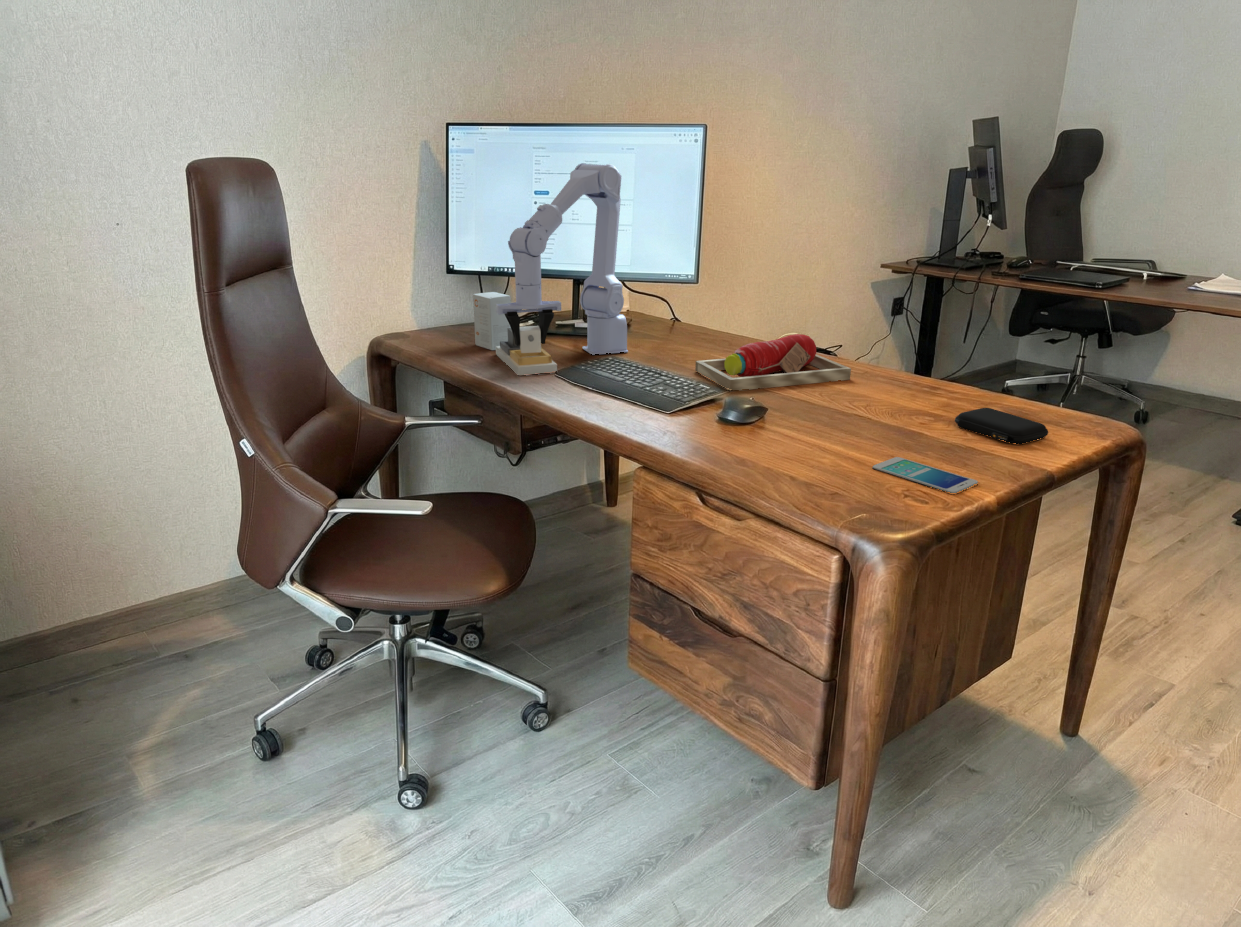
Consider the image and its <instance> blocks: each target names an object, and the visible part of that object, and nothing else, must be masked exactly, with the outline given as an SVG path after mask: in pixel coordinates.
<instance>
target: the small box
mask: <svg viewBox="0 0 1241 927" xmlns="http://www.w3.org/2000/svg"><path fill="white" fill-rule="evenodd" d="M511 300H512V298H511V295H508V294H504V293H500V292H496V291H488V292H481V293H480V292H479V293H473V294H472V302H473V319H474V320H473V321H474V322H473V323H474V340H475V342H474V343H475V346H477V347H481V348H483V349H487V350H489V351H496V346H500V341H508V329H507V328H511V327H510V325H509V322H508V320H507V319H506V317H505V314H500V315H499V314H497V312H496V304H507V303H512V301H511Z"/></svg>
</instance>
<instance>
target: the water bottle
mask: <svg viewBox="0 0 1241 927" xmlns="http://www.w3.org/2000/svg"><path fill="white" fill-rule="evenodd" d="M816 354H817V345H816V342H815V340H814V339H812V338H811V337H810V336H809V335H806V334H800V333H796V334H789V335H786V336H783V337H779V338H776V339H772V340H766V341H756V342H751V343H747V344H743V345H742V346H740V347H739V348H737V349H736V350H735V351H733V353H732V354H729V355H728V356H726V358H724V359H725V362H724V365H725V369H726V374H727V375H728V376H730V375H731V376H737V377H749V376H760V375H770V374H773V373H777V372H780V371H781V372H784V373H792V372H800V370H801V369H802V368H803V367H805V366H808V365H810V364H809V363H810V362H811V361H812V360H813V359H814V357H815V355H816Z"/></svg>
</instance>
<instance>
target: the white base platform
mask: <svg viewBox="0 0 1241 927" xmlns="http://www.w3.org/2000/svg"><path fill="white" fill-rule="evenodd" d="M495 355H496V356H497V357H498V358H499V359H500V360H501V361H502V362H503V363H504V362H505V363H506V364H505V363H504V364H505V365H506V366H507V365H508V366H509V367H510V368H511V369H512V370H513V371H514V372H515V373H516V374H518V375H524V374H535V373H544V372H552V371H557V372H558V364H557V363H556V362H555V361H554V360H553V356H552V355H551V354H549V352H547V351H546V350H545V349H543V348H542V347H541V352H537V353H521V350H520V348H510V347H509V346H508V341H500V346H496V350H495ZM508 366H507V367H508ZM509 367H508V368H509ZM510 368H509V369H510ZM511 369H510V370H511ZM512 370H511V371H512ZM513 371H512V372H513ZM515 373H514V374H515ZM516 374H515V375H516Z"/></svg>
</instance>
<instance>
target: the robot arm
mask: <svg viewBox="0 0 1241 927" xmlns="http://www.w3.org/2000/svg"><path fill="white" fill-rule="evenodd" d="M621 186H622V174H621V173H620V172H619V170H618V168H617V167H616V166H615V165H614V164H611V163H607V164H596V163H595V164H594V163H584V162H583V163H582V162H581V163H578V165H576V167H575V168H574V169H573V170H572V171H570V176H569V180H568V181H567V182H566V184H564V186H563V187H562V189H561V190H560V191H559V192H558V194H557V195H556V197H555V198H554V199H553V200H552V202H551V203H550V204H549V203H544V204H542V205H541V204H540V205H539V206H537V208H536V212H534V213H533V215H532V216H531V217H530V218H529V219H528V220H526V221H525V222H524V225H523V226H522V227H516V228H515V229H513V231H511V233H510V236H509V240H508V241H507V243H508V244H507V245H508V249H509V250H510V251H511V253H512V260H513V261H514V278H515V279H514V280H515V282H514V283H515V302H511V303H507V304H496V312H497V314H499V315H500V314H505V317H506V319H507V320H508V322H509V325H510V327H511V330H512V332H513V336H514V340H515V344H516V345H517V346H520V327H521V325H520V324H521V317H520V316H519V313H533V312H534V313H535V312H536V313H537V315H538V323H539V325H538V326H539V328H540V331H541V345H545V344H546V339H547V335H548V331H549V329H550V325H551V323H552V321H553V319H554V316H555V313H554V312H553V311H557V312H561V311H562V302H561V301H559V300H550V301H549V300H542V263H541V261H542V260H541V258H542V257H541V256H542V254H543V253H544V252H545V251H546V249H547V243H548V241H549V238H550V237H551V236H552V234H554V232H555V231H556V230H557V229H558V228H559V227H560V225H561V224H563V215H564V214H565V213H566V212H567V211H568V210H569V209H570V208H571V207H572V206H573V205H574V204H575V203H576V202H577V201H579V199H580V198H582V196H584V195H585V196H586V197H587V198H588V199H590V200H591V201H592V203H594V205H595V206H596V215H595V216H596V217H595V229H594V230H595V231H594V242H593V244H594V245H593V256H592V266H591V267H592V268H591V269H592V270H591V274H590V275H589V276H588V277H587V278H586V279H585V280H584V281H583V288H582V290H581V293H580V297H579V303H580V306H581V308H582V309H583V310H584V315H586V318H587V319H586V322H587V323H586V324H587V325H586V327H587V332H586V333H587V334H586V335H587V336H586V337H587V342H586V343H587V345H583V346H582V349H583V350H584V351H586V352H587V353H589V355H591V354H592V355H591V356H596V355H595V354H599V355H610V354H609V353H611V354H620V352H624V353H629V350H628V325H627V324H628V323H627V319H626V316H625V315H624V314H621V312H622V310H623V307H624V303H625V299H624V295H623V284H622V283H621V281H620V280H619V279H618V278H617V277H616V275H615V272H616V262H617V251H618V250H617V249H618V238H619V237H618V235H619V224H620V211H621V202H622V201H621V189H622V187H621ZM606 353H608V354H606Z"/></svg>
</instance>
